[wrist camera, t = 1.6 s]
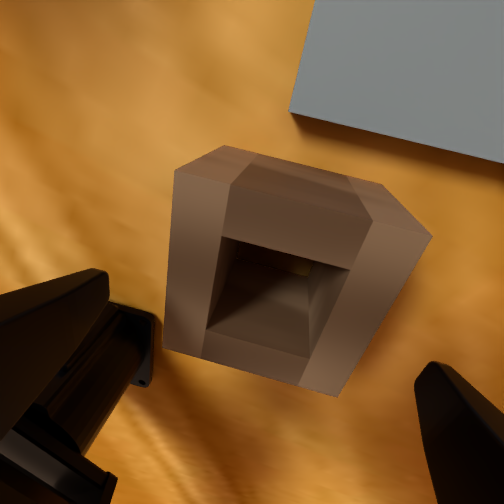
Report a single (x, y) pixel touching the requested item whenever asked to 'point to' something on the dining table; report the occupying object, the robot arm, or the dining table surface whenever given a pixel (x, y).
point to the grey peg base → (408, 71)
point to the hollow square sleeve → (277, 281)
